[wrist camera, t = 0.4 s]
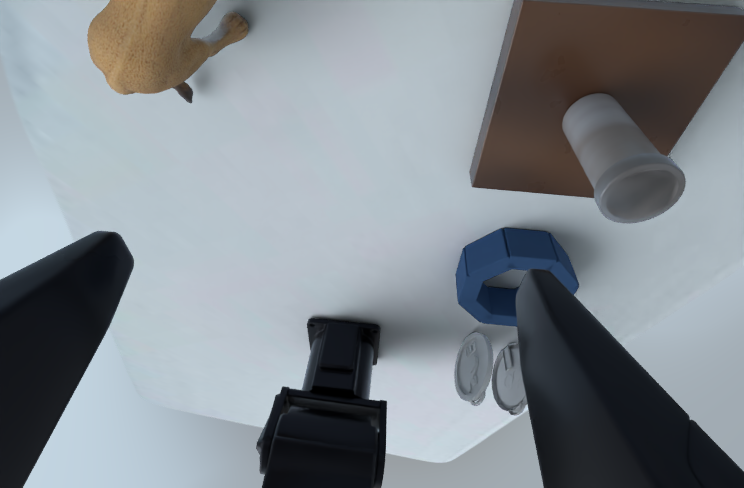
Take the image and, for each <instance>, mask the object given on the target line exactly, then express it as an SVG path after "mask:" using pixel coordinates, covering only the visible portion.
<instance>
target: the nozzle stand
mask: <svg viewBox="0 0 744 488" xmlns="http://www.w3.org/2000/svg"><path fill="white" fill-rule="evenodd" d="M743 41H744V9H741V8H739V7H735V6H720V5H706V4H691V3H676V2H662V1H647V0H514V2H513V6H512V10H511V14H510V18H509V22H508V26H507V29H506V33H505V37H504V41H503V45H502V49H501V53H500V57H499V60H498V64H497V68H496V72H495V76H494V80H493V84H492V87H491V91H490V95H489V99H488V103H487V107H486V111H485V115H484V118H483V122H482V126H481V130H480V134H479V138H478V142H477V146H476V149H475V153H474V157H473V161H472V165H471V169H470V178H471V184H472V187H475V188H487V189H498V190H509V191H521V192H532V193H543V194H555V195H566V196H577V197H589V198H594V199H595V201H596V203H597V205H598V207H599V209H600V211H601V213H602V214H603V215H604V216H605V217H606V218H608V219H610V220H612V221H614V222H618V223H637V222H642V221H645V220H649V219H651V218H654V217H656V216H658V215H660V214H662V213H664V212H665V211H666V210H668V209H669V208H670V207H672V206H673V205H674V204H675V203H676V202H677V201H678V199H679V198H680V197H681V195H682V193H683V191H684V188H685V176H684V174H683V172H682V170H681V169H680V168H679V167H678V166H677V165H676V163H675V162H674V161H673V160H672V159H670V158H669V157H667V156H668V154H669V153H670V151H671V150H672V148H673V147H674V145H675V144H676V142H677V141H678V139H679V138H680V136H681V135H682V133H683V132H684V130H685V129H686V127H687V126H688V124H689V123H690V121H691V120H692V118H693V117H694V115H695V114H696V112H697V111H698V109H699V108H700V106H701V105H702V103H703V102H704V100H705V99H706V97H707V96H708V94H709V93H710V91H711V90H712V88H713V87H714V85H715V84H716V82H717V81H718V79H719V78H720V76H721V75H722V73H723V72H724V70H725V68H726V67H727V65H728V64H729V62H730V61H731V59H732V58H733V56H734V55H735V53H736V52H737V50H738V49H739V47H740V46H741V44H742V43H743Z"/></svg>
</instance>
